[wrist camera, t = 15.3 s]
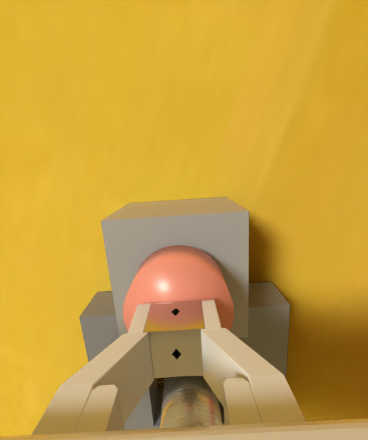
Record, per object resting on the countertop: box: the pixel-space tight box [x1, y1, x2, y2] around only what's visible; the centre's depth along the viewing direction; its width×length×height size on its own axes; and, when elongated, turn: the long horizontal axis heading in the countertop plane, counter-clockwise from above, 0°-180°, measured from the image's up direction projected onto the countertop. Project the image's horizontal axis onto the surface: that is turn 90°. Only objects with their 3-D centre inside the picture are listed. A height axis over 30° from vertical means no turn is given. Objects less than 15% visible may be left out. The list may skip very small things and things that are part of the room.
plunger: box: [123, 245, 234, 331], centre depth 9 cm, size 4×4×2 cm
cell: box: [160, 376, 222, 428], centre depth 15 cm, size 4×4×8 cm
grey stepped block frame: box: [80, 197, 290, 430], centre depth 15 cm, size 21×14×6 cm, turn 4°
